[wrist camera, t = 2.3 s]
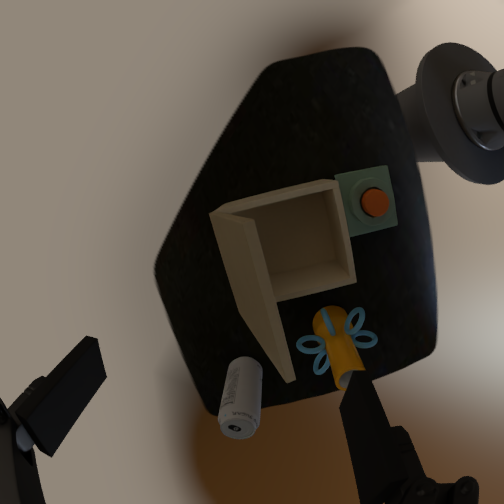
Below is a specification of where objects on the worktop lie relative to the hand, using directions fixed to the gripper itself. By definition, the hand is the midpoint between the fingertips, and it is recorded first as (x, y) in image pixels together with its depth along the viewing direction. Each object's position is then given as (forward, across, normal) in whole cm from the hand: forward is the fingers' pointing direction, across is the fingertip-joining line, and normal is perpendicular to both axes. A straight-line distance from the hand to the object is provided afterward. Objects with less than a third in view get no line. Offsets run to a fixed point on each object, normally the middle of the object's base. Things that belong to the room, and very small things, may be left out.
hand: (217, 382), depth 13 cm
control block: (+30, +16, +8) cm, 35 cm away
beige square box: (+30, +5, +2) cm, 30 cm away
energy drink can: (+30, +1, -23) cm, 38 cm away
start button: (+27, +16, +8) cm, 32 cm away
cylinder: (+30, +14, -12) cm, 35 cm away
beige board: (+14, 0, 0) cm, 14 cm away
